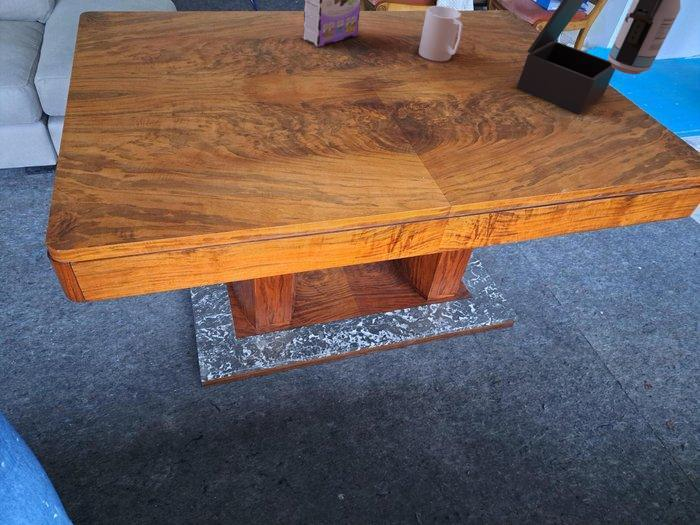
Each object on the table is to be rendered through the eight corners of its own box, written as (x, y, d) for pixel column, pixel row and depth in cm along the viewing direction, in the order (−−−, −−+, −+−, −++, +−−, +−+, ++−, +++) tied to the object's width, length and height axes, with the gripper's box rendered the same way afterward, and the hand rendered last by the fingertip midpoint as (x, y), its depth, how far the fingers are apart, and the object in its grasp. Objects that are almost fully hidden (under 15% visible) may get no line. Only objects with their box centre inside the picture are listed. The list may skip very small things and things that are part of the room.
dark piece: (602, 96, 119) (618, 64, 114) (578, 114, 111) (594, 80, 106) (542, 72, 126) (554, 40, 120) (516, 88, 118) (527, 54, 112)
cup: (440, 69, 121) (449, 26, 114) (412, 49, 128) (419, 7, 121) (466, 65, 124) (478, 22, 117) (438, 45, 131) (447, 4, 124)
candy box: (342, 28, 134) (348, -42, 122) (358, 36, 131) (365, -35, 119) (302, 39, 126) (304, -35, 114) (317, 47, 123) (321, -28, 112)
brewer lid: (606, -28, 107) (574, -53, 109) (579, -18, 99) (546, -44, 101) (556, 39, 120) (529, 17, 122) (529, 53, 112) (500, 29, 114)
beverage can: (612, 56, 90) (646, -19, 81) (652, 69, 87) (691, -7, 78) (599, 66, 86) (633, -11, 77) (640, 81, 83) (680, 2, 74)
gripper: (724, -102, 61) (634, 80, 77) (757, -112, 73) (672, 49, 89) (662, -114, 65) (587, 63, 81) (702, -122, 76) (630, 35, 92)
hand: (632, 56), depth 85 cm, fingers closed on beverage can, 7 cm apart
